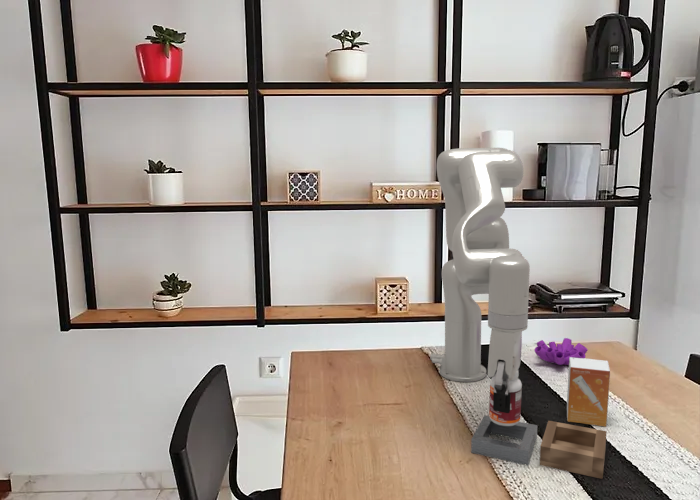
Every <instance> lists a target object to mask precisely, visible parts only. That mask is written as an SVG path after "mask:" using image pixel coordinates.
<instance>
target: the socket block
mask: <svg viewBox="0 0 700 500" xmlns="http://www.w3.org/2000/svg"><path fill="white" fill-rule="evenodd" d="M491 433H492V434H491ZM496 434H497V435H496ZM491 435H496V436H501V435H502V436H501V437H506V438H510V437H511V438H510V439H515V438H517V439H516V440H520V439H521V442H520V443H516V442H511V441H506V440H500V439H496V438H492V437H490V436H491ZM537 439H538V425H537V424H532V423H527V422H522V421H520V422H519V423H518V424H516V425H514V426H502V425H498V424H496V423H494V422H492V421H491V419H490V417H489V415H486V414H484V416H483V418H482V419H481V421H480V422H479V424H478V426H477V428H476V430H475V432H474V433H473V435H472V437H471V443H470V444H471V447H470V448H471V450H470V452H471V454H476V455H479V456H484V457H489V458H493V459H497V458H498V459H497V460H503V461H506V460H507V461H506V462H511V463H516V464H520V465H524V464H526V465H525V466H529V463H530V461H531V458H532V455H533V451H534V448H535V445H536V443H537Z"/></svg>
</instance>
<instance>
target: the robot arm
mask: <svg viewBox="0 0 700 500" xmlns="http://www.w3.org/2000/svg"><path fill="white" fill-rule="evenodd" d="M436 174H437V175H436V176H437V180H438V183H439V186H440V189H441V193H442V194H443V197H444V203H445V204H444V205H445V234H446V235H445V238H446V245H447V247H448V250H449V251H451V252H452V257H453V258H452V259H449V260H448V261H446V262H445V263H444V264H443V266H442V268H441V281H442V282H441V283H442V288H443V295H444V353H442V354H438V353H434V352H433V353H432V352H431V353H430V360H431V363H432V364H439V365H440V366H439V368H438V373H439V374H440V376H441V377H443V378H445V379H447V380H449V381H454V382H461V383H469V382H470V383H471V382H477V381H480V380H483V379H484V378H485V377H486V376H488V378H489V379H492V378H493V377H494V376H495V384H494V393H493V410H494V411H499V412H504V413H509V412H510V398H511V393H509V388H510V381H511V380H512V379H513V378H514V376H515V374H516V372H517V370H519V368H520V366H521V360H522V347H523V346H522V345H523V332H524V331H526V330H527V329H528V327H529V326H528V322H529V321H528V319H529V318H528V317H529V296H530V295H529V293H530V290H529V289H530V273H531V272H530V263H529V261H528V260H527V259H526V258H525V257H524V256H523V254H522V252H520V251H519V249H515V248H510V236H509V235H510V234H509V228H508V225H507V222H506V221H505V220H504V219H503V218H502V216H503V214H504V213H505V211H506V203H505V200H504V196H503V192H502V189H504V188H506V189H507V188H508V189H509V188H511V189H513V188H517V187H519V185H520V184H521V183H522V181H523V177H524V165H523V162H522V159H521V158H520V156H519V155H518V153H517V152H515V151H513V150H511V149H507V148H504V147H463V148H462V147H460V148H458V147H457V148H452V149H447V150H444V151H442V152H441V153H440V154H438V157H437V159H436ZM487 294H488V305H487V306H488V307H487V308H488V309H487V311H488V312H487V313H488V314H487V326H488V327H489V329H491V331H490V337H489V344H488V345H489V346H488V347H489V348H488V362H487V363H488V364H487V368H486V367H485V366H484V365H482V364H481V363H482V361H481V359H482V355H481V354H482V351H481V350H482V310H481V306H480V305H479V304H478V303H477V301H476V300H475V299H474V298H473V296H475V295H487ZM495 373H496V374H495ZM494 374H495V375H494ZM504 375H508V378H503V377H504ZM503 381H506V386H505V384H503Z"/></svg>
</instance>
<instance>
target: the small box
mask: <svg viewBox="0 0 700 500" xmlns="http://www.w3.org/2000/svg"><path fill="white" fill-rule="evenodd" d="M610 377H611V370H610V363H609V360H603V359H594V358H593V359H592V358H586V357H585V358H573V357H569V365H568V376H567V394H566V395H567V396H566V397H567V398H566V418H567V419H566V421H567V422H569V423H578V424H584V425H593V426H599V427H603V428H604V427H605V428H606V427H607V422H608V421H607V420H608V409H609V408H608V407H609V395H610V394H609V393H610V381H611V380H610V379H611V378H610Z"/></svg>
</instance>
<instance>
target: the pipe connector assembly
mask: <svg viewBox="0 0 700 500" xmlns="http://www.w3.org/2000/svg"><path fill="white" fill-rule="evenodd" d="M572 341H573V340H572V339H571V338H568V337H567V338H566V337H564V338H563V341H562V343H556V341H549V342H548V344H546V342H545V341H544V340H543V339H541V340H539V341H537V342H536V346H535V348H534V353H535V354H536V356H537V357H538V358H539V359H541V360H542V361H545V362H547V363H551V364H557V365H559V366H562V365H565V366H566V365H567V366H569V357H573V358H586V353H588V350H589V349H588V348H587V347H586V346H584V345H583V344H581V343H580V342H578V343H577V344H576V345H574V344H573V343H572Z"/></svg>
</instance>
